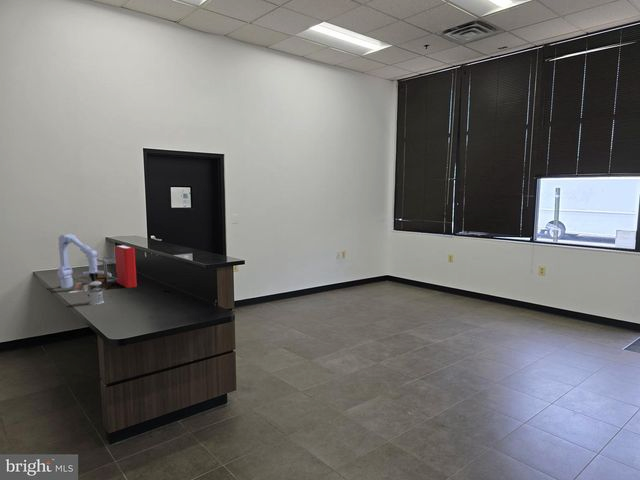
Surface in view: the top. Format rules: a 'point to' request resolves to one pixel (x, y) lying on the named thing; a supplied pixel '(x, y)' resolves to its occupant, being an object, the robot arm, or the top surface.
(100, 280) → the cigar case
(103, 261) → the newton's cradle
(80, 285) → the canister
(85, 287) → the pale blue block
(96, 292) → the french press
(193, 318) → the top surface
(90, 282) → the tan notched piece
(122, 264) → the book
